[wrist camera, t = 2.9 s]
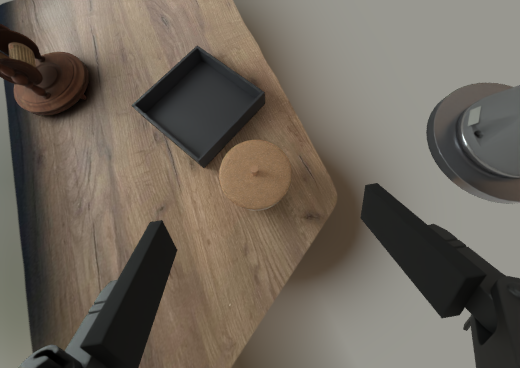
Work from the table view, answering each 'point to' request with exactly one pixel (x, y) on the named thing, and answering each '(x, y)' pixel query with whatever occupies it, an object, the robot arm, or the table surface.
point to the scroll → (41, 75)
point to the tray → (200, 105)
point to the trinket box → (255, 174)
